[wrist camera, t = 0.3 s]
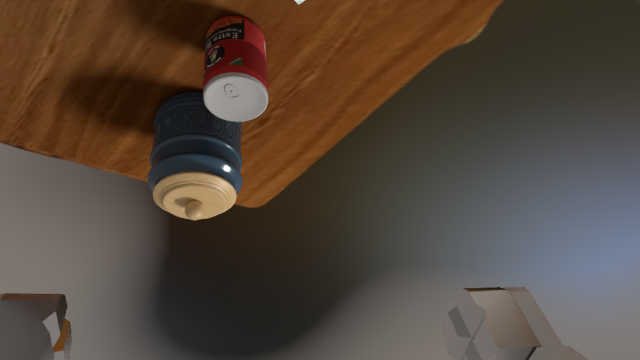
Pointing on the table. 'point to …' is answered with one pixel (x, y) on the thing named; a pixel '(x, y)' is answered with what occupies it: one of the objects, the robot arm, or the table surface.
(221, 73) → the canned food
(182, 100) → the canister
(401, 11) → the table surface
